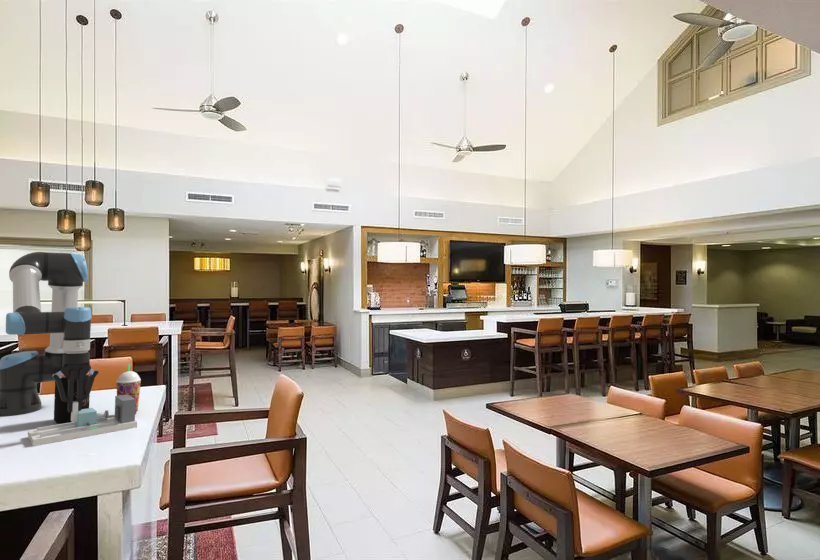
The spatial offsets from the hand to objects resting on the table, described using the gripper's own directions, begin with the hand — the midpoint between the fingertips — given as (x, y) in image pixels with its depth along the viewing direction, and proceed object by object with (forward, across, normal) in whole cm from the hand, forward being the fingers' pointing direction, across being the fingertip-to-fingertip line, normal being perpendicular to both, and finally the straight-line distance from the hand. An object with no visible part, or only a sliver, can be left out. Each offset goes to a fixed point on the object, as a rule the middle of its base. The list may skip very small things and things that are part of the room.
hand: (74, 420), depth 154 cm
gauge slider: (+2, +5, -1) cm, 6 cm away
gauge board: (+4, +3, 0) cm, 5 cm away
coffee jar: (+5, +3, +20) cm, 21 cm away
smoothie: (+5, +20, +14) cm, 25 cm away
